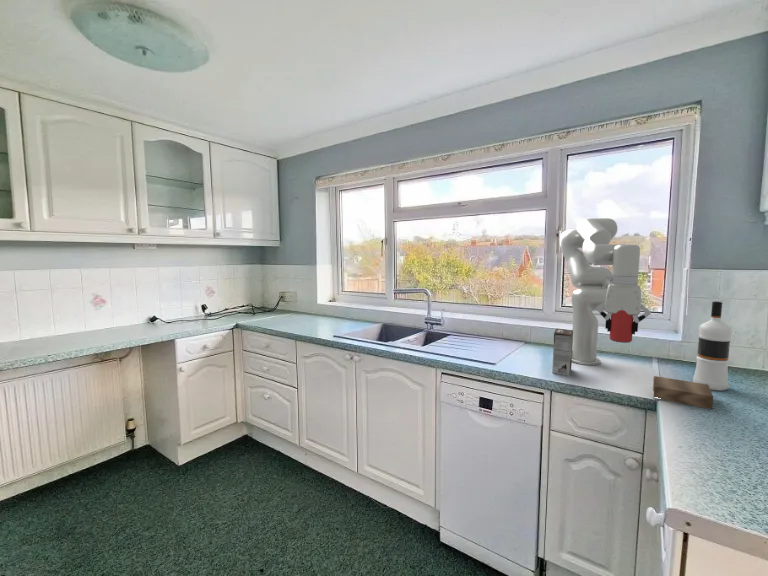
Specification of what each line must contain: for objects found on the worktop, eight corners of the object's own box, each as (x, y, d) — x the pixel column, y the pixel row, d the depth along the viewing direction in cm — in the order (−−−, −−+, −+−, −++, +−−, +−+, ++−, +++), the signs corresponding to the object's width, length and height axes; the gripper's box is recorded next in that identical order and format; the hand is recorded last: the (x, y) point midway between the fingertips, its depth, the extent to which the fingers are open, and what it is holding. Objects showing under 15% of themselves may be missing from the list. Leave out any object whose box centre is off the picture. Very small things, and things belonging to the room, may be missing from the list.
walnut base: (653, 398, 115) (654, 386, 115) (653, 387, 125) (654, 375, 125) (712, 409, 107) (713, 396, 107) (706, 396, 117) (707, 384, 116)
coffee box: (554, 366, 148) (555, 328, 146) (571, 369, 144) (573, 329, 143) (551, 373, 140) (553, 332, 138) (570, 376, 136) (572, 334, 135)
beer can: (610, 337, 129) (612, 304, 128) (632, 340, 125) (635, 306, 124) (607, 341, 124) (610, 307, 123) (630, 344, 120) (633, 308, 119)
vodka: (685, 381, 130) (692, 299, 127) (712, 382, 130) (719, 299, 127) (707, 391, 121) (715, 303, 118) (736, 391, 120) (744, 303, 117)
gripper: (593, 280, 124) (591, 331, 126) (656, 283, 114) (652, 338, 116) (596, 279, 130) (593, 327, 132) (656, 281, 120) (652, 333, 122)
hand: (621, 331), depth 124 cm, fingers closed on beer can, 6 cm apart
